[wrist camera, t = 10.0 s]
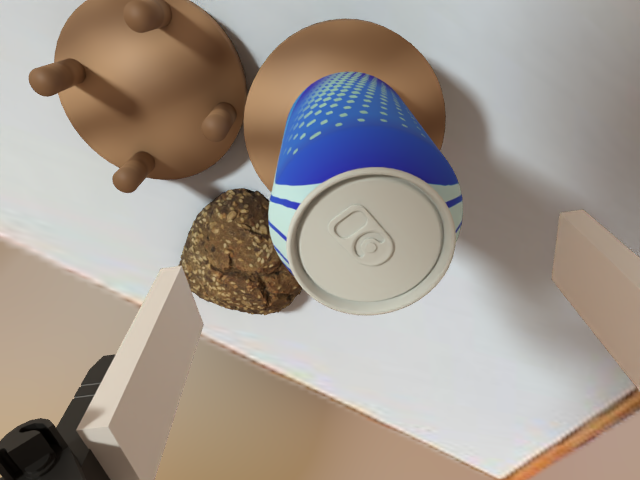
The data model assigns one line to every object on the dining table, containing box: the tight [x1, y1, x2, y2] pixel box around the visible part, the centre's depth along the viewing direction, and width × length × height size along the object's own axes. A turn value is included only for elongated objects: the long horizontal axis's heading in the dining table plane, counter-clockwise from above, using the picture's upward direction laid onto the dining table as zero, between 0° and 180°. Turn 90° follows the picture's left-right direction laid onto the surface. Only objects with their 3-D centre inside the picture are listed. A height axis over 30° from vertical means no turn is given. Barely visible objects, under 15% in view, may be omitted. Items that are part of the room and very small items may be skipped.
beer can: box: [268, 72, 463, 315], centre depth 24 cm, size 8×8×16 cm
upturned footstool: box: [29, 0, 247, 193], centre depth 33 cm, size 14×14×6 cm
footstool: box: [244, 19, 446, 192], centre depth 34 cm, size 14×14×6 cm
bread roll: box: [179, 188, 303, 315], centre depth 42 cm, size 13×12×5 cm
